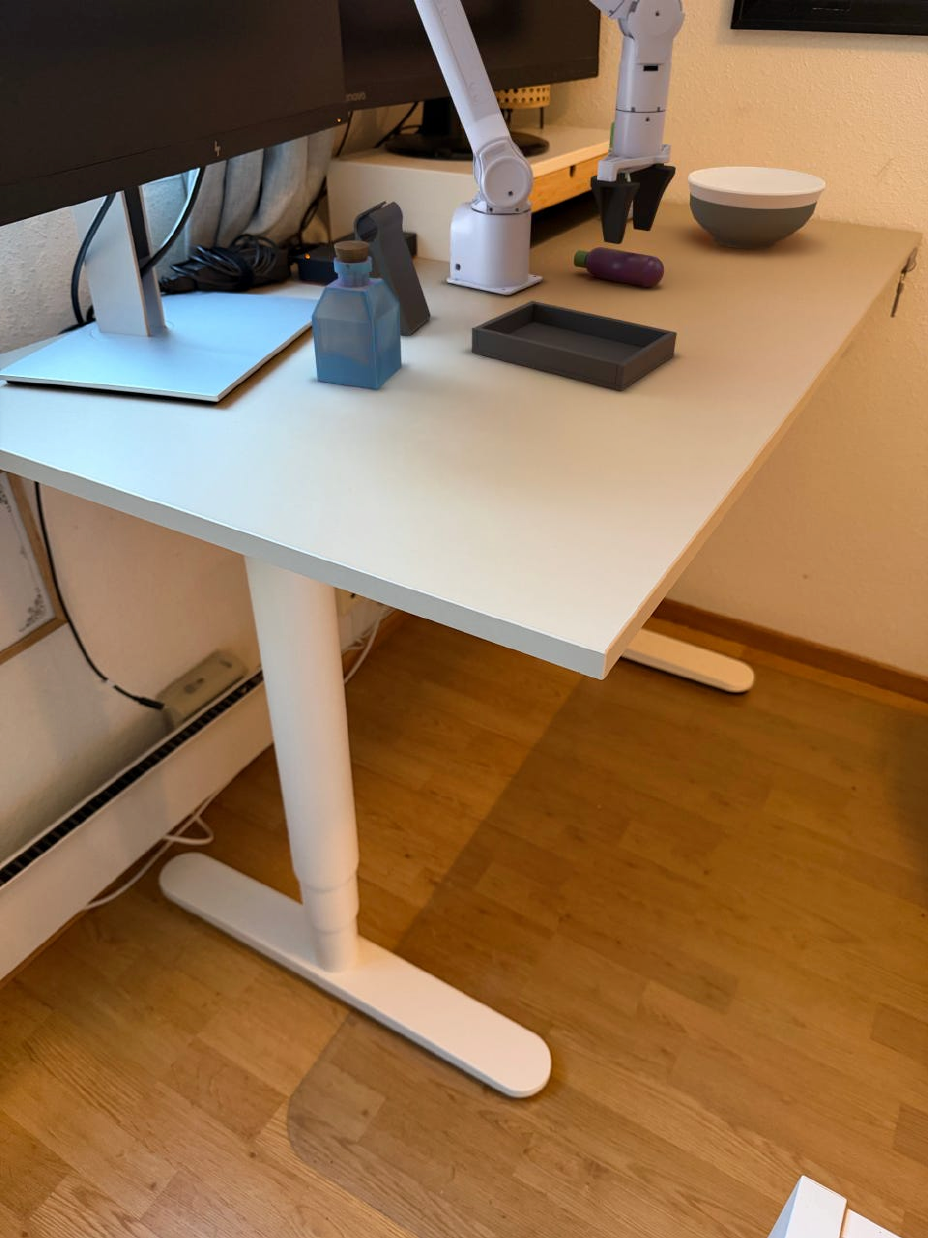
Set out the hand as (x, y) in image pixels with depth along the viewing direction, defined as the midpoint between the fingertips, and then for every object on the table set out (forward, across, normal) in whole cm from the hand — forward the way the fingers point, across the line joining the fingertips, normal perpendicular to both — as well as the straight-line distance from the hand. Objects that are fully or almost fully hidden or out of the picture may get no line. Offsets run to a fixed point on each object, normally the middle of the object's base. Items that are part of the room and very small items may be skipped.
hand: (627, 235), depth 109 cm
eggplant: (+5, 0, 0) cm, 5 cm away
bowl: (+6, +28, -5) cm, 29 cm away
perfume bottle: (+6, -43, +6) cm, 44 cm away
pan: (+5, -26, -8) cm, 28 cm away
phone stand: (+6, -30, +14) cm, 34 cm away
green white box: (+6, +31, +17) cm, 36 cm away
